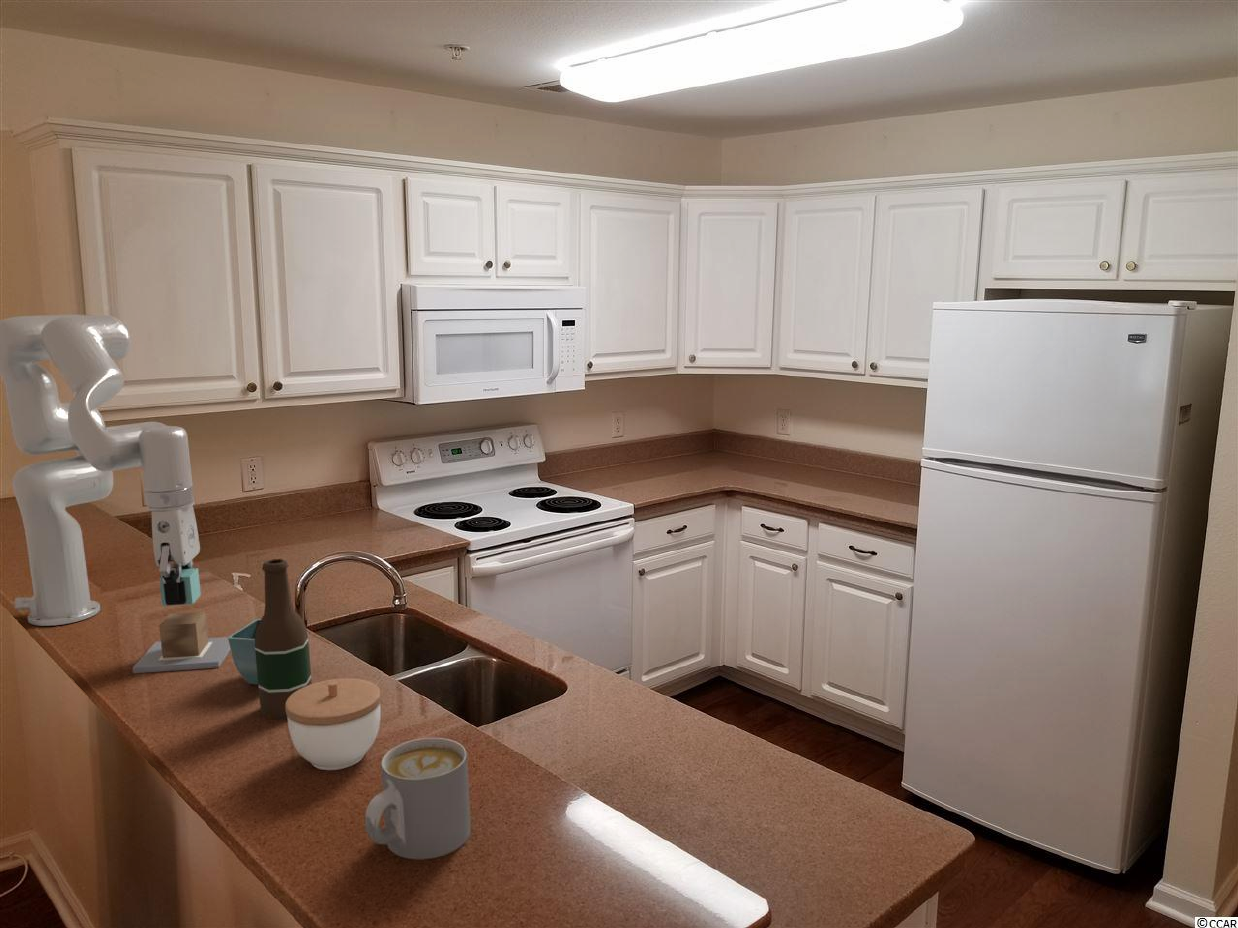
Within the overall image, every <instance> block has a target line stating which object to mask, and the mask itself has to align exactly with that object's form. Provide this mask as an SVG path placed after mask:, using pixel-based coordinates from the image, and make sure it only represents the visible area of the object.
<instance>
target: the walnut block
mask: <svg viewBox="0 0 1238 928" xmlns="http://www.w3.org/2000/svg"><path fill="white" fill-rule="evenodd" d="M158 627H159V636H160V641H161V646H162V655H163V658H173V657H188V656H199V655H200V654H201V652H202V651H203V650H204V648H205V647H206V645H207V644H208V638H209V636H208V628H207V616H206V611H196V612H194V611H193V612H178V613H177V612H176V613H169V614H168V616H167V617H166V618H164V620H163V621H162V622H161V623H160V624H159V626H158Z"/></svg>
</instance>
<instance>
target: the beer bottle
mask: <svg viewBox="0 0 1238 928" xmlns="http://www.w3.org/2000/svg"><path fill="white" fill-rule="evenodd" d="M288 567H289V563H288V561H287V560H285V559H282V558H273V559H269V560H268V559H267V560H266V561H265V562H264V563H263V564H262V569H261V570H262V571H263V572H264V610H263V611H264V612H263V613H264V614H263V616H262V618H260V619H261V621H260V623H259V624H258V627H257V630H256V634H255V654H256V665H257V676H258V684H257V685H258V695H259V697H258V698H259V704H260V711H261V713H262V715H264V716H266V717H268V718H269V719H270V720H284V719H287V714H286V709H285V704H286V701H287V699H288V698H289V697H290V696H291V695H292V694H293V693H294V692H296V691H297V690H299V689H301V688H303V687H305V686H308V685H311V684H313V683H312V669H311V660H310V659H311V657H310V647H309V635H308V629H307V626H306V624H305V622H304V620H303V618H302V617H301V616H300V614H299V613H298V612H297V611H296V610H295V608H294V605H293V601H292V595H291V589H290V583H289V576H288V570H287V569H288ZM287 720H288V719H287Z"/></svg>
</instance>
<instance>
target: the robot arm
mask: <svg viewBox="0 0 1238 928" xmlns="http://www.w3.org/2000/svg"><path fill="white" fill-rule="evenodd" d="M131 349H132V337H131V334H130V332H129V329H128V328H127V326H125V324H124V322H122V321H121V320H120V319H119V318H117V317H115V316H112V315H101V314H100V315H98V314H97V315H96V314H56V315H55V314H53V315H44V314H43V315H39V314H38V315H21V316H13V317H12V316H11V317H7V318H4V319H1V320H0V378H1V381H2V383H3V385H4V389H5V396H6V401H7V407H8V413H9V418H10V424H11V429H12V435H13V439H14V443H15V445H16V447H17V449H18V450H19V451H20V452H21V453H23V454H25V455H28V456H41V455H49V454H57V453H64V452H70V451H75V453H76V456H72V457H65V458H57V459H52V460H45V461H44V460H43V461H39V462H35V463H31V464H27V465H25V466H22V467H21V468H20V469H19V470H17V472H16V473H15V474H14V476H13V479H12V490H13V493H14V497H15V499H16V502H17V505H18V508H19V511H20V514H21V515H20V516H21V518H22V524H23V528H24V532H25V541H26V542H25V543H26V546H27V555H28V562H29V570H30V577H31V583H32V584H31V585H32V590H33V595H32V596H31V597H16V598H14V602H13V605H14V609H15V610H16V611H22V610H23V611H24V610H28V611H30V612H29V613H28V614H27V622H28V623H29V624H31V625H34V626H38V627H39V626H40V627H50V626H60V625H67V624H72V623H76V622H77V623H78V622H80V621H84V620H87V619H89V618H92V617H93V616H95V615H97V614H98V613H99V612H100V611H101V606H100V603H99V602H97V601H95V600H91V594H90V587H89V586H90V585H89V577H88V569H87V564H86V563H87V562H86V555H85V549H84V548H85V547H84V546H85V545H84V539H83V531H82V528H81V525H80V524H79V522H78V521H77V520H76V519H75V518H74V516H72V515H71V514H70V513H68V511H67V510H66V508H69V507H73V506H76V505H81V504H82V505H83V504H86V503H91V502H96V501H99V500H103V499H105V498H107V497H108V496H109V495H110V494H111V493H112V491H113V488H114V471H120V470H126V469H130V468H131V469H132V468H136V467H137V468H138V467H141V468H142V469H141V470H142V479H143V480H142V481H143V487H144V489H143V490H144V495H145V506H146V510H147V511H151V532H152V535H151V536H152V545H153V547H152V548H153V556H154V560H155V565H156V566H158V567H159V574H161V576H162V577H163V584H164V593H165V601H166V605H173V606H180V605H179V604H185V603H186V595H185V586H184V581H182V575H181V569H195V568H194V562H193V559H194V558H195V557H197V555H198V554H199V553H200V551H201V545H200V544H201V543H200V538H199V532H198V525H197V519H196V515H195V510H194V506H195V504H196V503H195V494H194V486H193V485H194V484H193V477H192V475H193V474H192V469H191V468H192V467H191V466H192V465H191V459H190V457H191V456H190V449H189V438H188V433H187V431H186V429H184V428H183V427H181V426H178V425H177V426H175V425H166V424H164V423H162V422H158V421H145V422H138V423H129V424H123V425H122V424H121V425H113V426H106V423H105V420H104V418H103V416H102V414H101V412H100V411H99V410H98V407H100V406H102V405H104V404H106V403H107V402H109V401H110V400H112V399H113V398H114V397H116V395H118V394H119V393H120V391H121V390H122V388H123V387H124V384H125V377H124V374H123V373H122V371H121V370H120V368H119V367H118V365H117V364H116V361H117V360H121V359H124V358H126V357H127V356H128V355H129V353H130V351H131ZM38 361H39V362H40V361H52V362H53V364H54V365H55V368H57V369H58V371H59V373H60V374H61V376H62V377H63V379H64V380H65V382H66V383H67V385H68V387H70V390H71V391H72V392H73V394H74V395H73V396H72V398H71V401H70V402H64V403H63V402H61V400H60V398H59V393H58V392H59V391H58V390H59V389H58V384H57V381H56V380H55V377H54V376H53V375H52V374H51V372H50V371H48V369H46V368H45V367H44V365H42V364H41V363H39V362H38ZM171 562H173V564H171ZM174 570H176V573H175V572H174Z"/></svg>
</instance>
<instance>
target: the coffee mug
mask: <svg viewBox="0 0 1238 928" xmlns="http://www.w3.org/2000/svg"><path fill="white" fill-rule="evenodd" d="M380 766H381V768H380V769H381V770H380V771H381V781H382V782H381V783H382V784H381V785H382V791H381V792H379V793H378V794H376V795H375V796H374V797H372V799H371V800H370V802H369V803H368V805H367V807H366V811H365V816H364V824H365V830H366V834H367V836H368V837H369V839H370V840H371V841H373V842H374V843H376V844H378V845H387V848H388V849H389V850H390V851H391V852H392V853H393V854H395V855H396V856H399V857H402V858H405V859H409V860H429V859H436V858H440V857H443V856H446V855H448V854H450V853H452V852H455V851H456V850H458V849H460V847H462V846H463V845H464V844H465V843H466V842H467V841H468V840H469V837H470V835H471V832H472V831H471V830H472V829H471V811H470V810H471V808H470V807H471V806H470V790H469V789H470V786H469V784H470V783H469V767H468V753H467V750H466V748H465V747H464V745H463V744H461V743H460V742H457V741H456V740H453V739H449V738H443V737H422V738H417V739H412V740H408V741H406V742H405V741H404V742H403V743H400V744H397V745H395V746H394V747H393V748H391V749H390V750H388V751H387V752H386V753H385V754H384V755H383V757H382V760H381V764H380ZM382 815H384V828H381V818H382Z"/></svg>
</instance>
